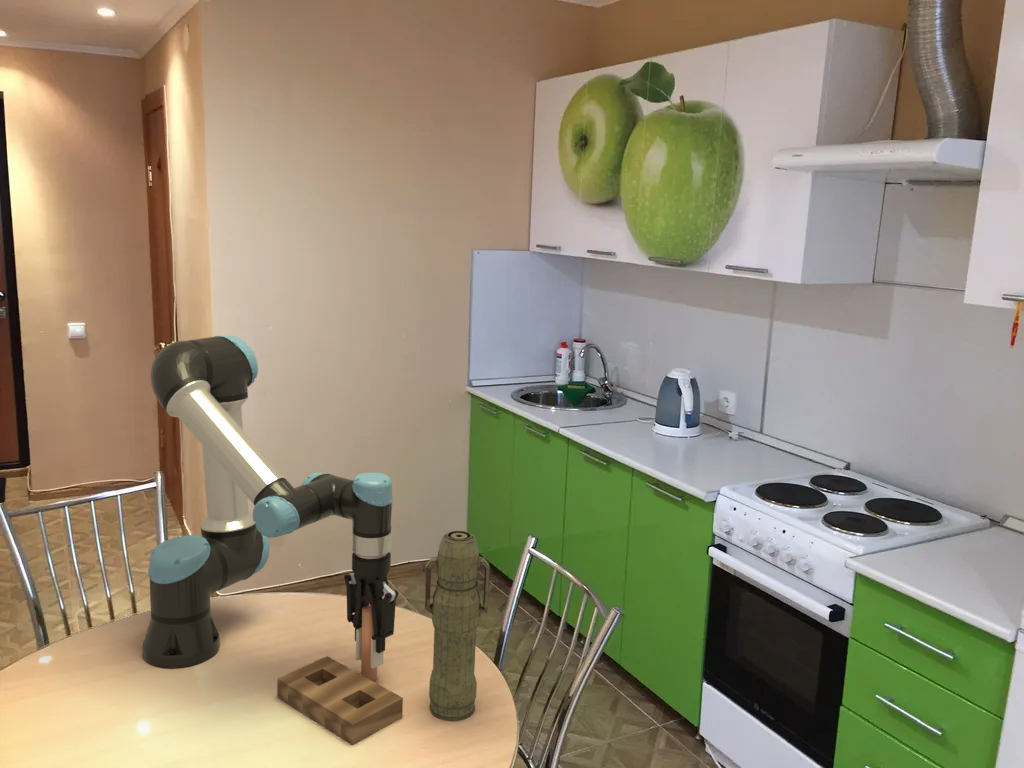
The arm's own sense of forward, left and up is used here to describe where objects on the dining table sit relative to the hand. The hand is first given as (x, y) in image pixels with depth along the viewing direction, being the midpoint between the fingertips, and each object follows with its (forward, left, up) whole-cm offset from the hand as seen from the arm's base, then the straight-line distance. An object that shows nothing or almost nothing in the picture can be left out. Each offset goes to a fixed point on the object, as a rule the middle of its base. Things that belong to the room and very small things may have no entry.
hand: (369, 661), depth 177 cm
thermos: (+19, +4, -4) cm, 20 cm away
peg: (0, 0, -4) cm, 4 cm away
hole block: (+4, -11, -4) cm, 12 cm away
